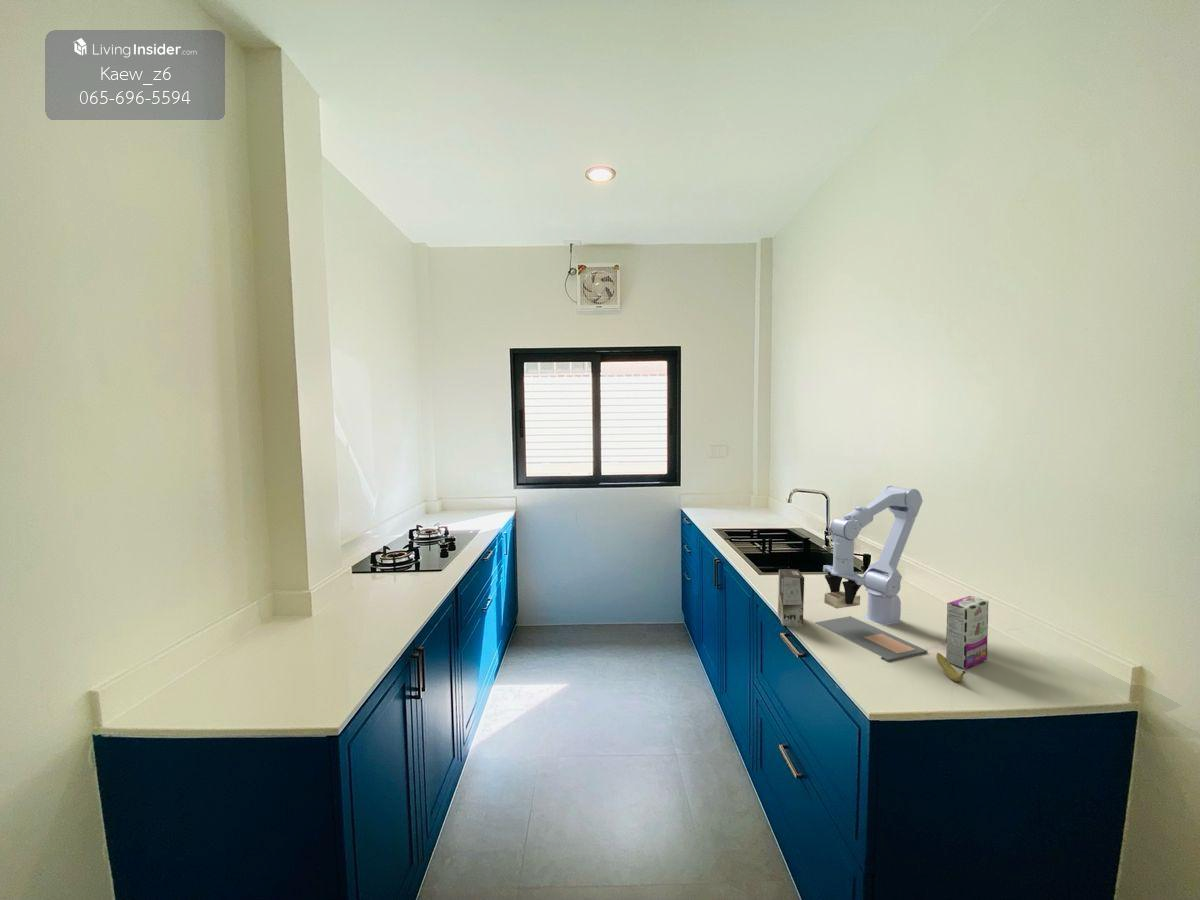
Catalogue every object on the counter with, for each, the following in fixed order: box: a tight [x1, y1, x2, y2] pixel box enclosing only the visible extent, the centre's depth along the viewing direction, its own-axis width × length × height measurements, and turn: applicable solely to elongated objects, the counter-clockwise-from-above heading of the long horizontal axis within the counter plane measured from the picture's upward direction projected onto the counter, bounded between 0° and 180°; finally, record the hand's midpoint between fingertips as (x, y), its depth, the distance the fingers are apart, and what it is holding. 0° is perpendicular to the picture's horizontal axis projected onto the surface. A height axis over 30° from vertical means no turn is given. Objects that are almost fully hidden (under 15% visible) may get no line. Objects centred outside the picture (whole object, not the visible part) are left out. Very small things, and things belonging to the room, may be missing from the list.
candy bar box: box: [945, 595, 989, 670], centre depth 131 cm, size 11×5×16 cm, turn 117°
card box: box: [823, 590, 861, 609], centre depth 152 cm, size 9×5×3 cm, turn 108°
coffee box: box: [777, 568, 805, 628], centre depth 157 cm, size 9×6×16 cm
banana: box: [935, 652, 967, 683], centre depth 123 cm, size 10×2×4 cm, turn 177°
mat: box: [814, 615, 928, 663], centre depth 146 cm, size 15×26×1 cm, turn 20°
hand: (842, 600), depth 152 cm, fingers closed on card box, 5 cm apart
